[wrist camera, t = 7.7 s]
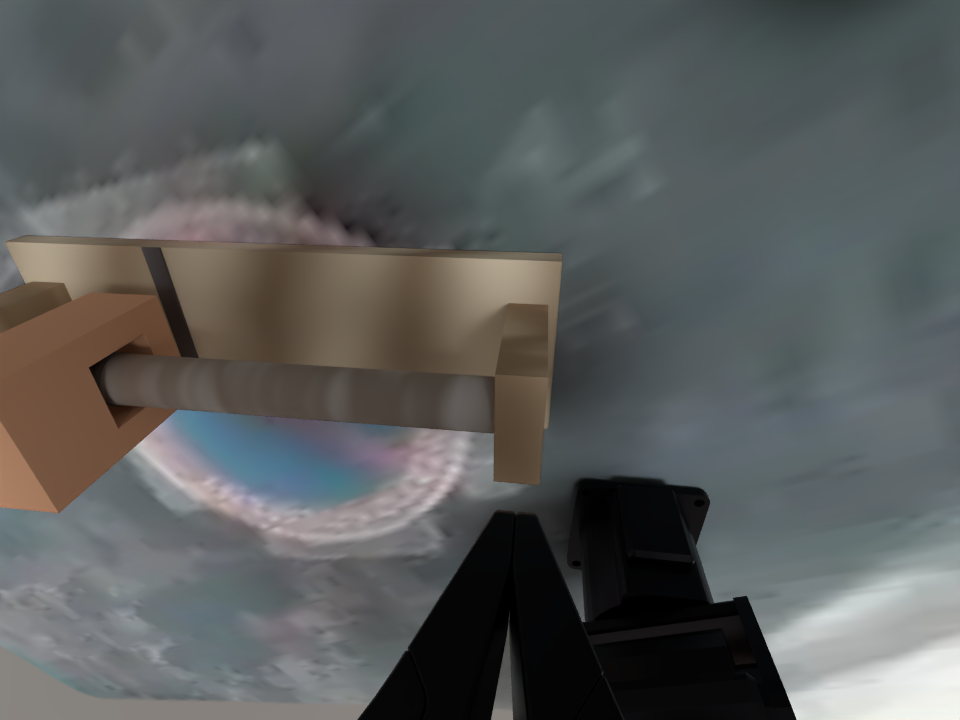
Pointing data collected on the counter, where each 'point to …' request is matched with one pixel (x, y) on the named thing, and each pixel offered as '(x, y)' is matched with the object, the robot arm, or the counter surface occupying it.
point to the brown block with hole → (71, 397)
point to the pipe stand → (323, 332)
